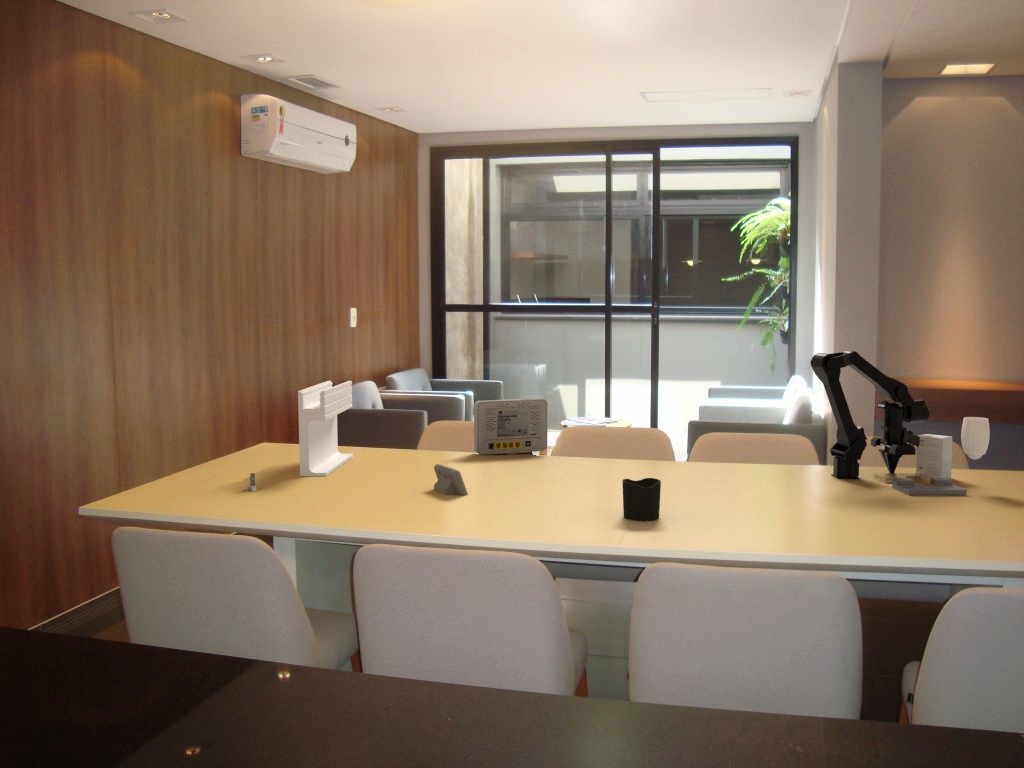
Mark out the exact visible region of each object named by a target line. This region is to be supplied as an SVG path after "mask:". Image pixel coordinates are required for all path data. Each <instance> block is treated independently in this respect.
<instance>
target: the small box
mask: <svg viewBox="0 0 1024 768" xmlns="http://www.w3.org/2000/svg"><path fill="white" fill-rule="evenodd" d="M917 436H919V437H920V443H919V447H917V446H916V458H915V461H916V462H915V466H916V467H915V469H916V470H915V473H921V474H924V475H927V476H929V477H932V478H950V479H952V467H953V466H952V465H953V464H952V463H953V462H952V460H953V459H952V458H953V455H952V454H953V436H951V435H949V436H948V435H941V434H929V433H925V434H918V435H917Z"/></svg>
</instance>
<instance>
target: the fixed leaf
mask: <svg viewBox="0 0 1024 768" xmlns="http://www.w3.org/2000/svg"><path fill="white" fill-rule="evenodd" d="M953 480H954V479H952V478H950V479H949V478H930V483H921V484H916V485H914V480H912V479H910V478H892V483H891V488H893V489H894V490H895V491H899V492H900V493H903V494H905V495H907V496H957V497H958V496H959V497H960V496H967V491H968V490H967V489H966V488H963V487H961V486H958V485H956V484H954V483H953V482H954V481H953Z"/></svg>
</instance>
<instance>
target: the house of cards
mask: <svg viewBox="0 0 1024 768" xmlns="http://www.w3.org/2000/svg"><path fill="white" fill-rule="evenodd" d="M256 485H257V484H256V472H251V473H250V474H249V487H248V488H249V489H250V491H251V492H252V493H253V492H257V486H256ZM242 491H247V489H245V488H244V489H242Z"/></svg>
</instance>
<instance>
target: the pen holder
mask: <svg viewBox="0 0 1024 768" xmlns="http://www.w3.org/2000/svg"><path fill="white" fill-rule="evenodd" d="M661 486H662V482H661V480H660V479H658V478H653V477H646V478H642V479H638V480H633V479H629V478H624V479H622V508H623V509H622V510H623V511H622V512H623V518H624V519H626V520H629V521H632V522H633V521H635V522H651V521H652V522H653V521H657V520H658V519H660V507H661Z"/></svg>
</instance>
